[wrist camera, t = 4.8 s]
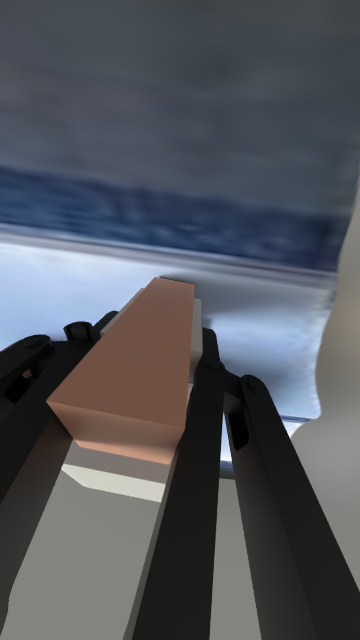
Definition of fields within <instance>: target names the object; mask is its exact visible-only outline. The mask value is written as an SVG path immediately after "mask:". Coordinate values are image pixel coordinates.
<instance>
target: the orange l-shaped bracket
mask: <svg viewBox="0 0 360 640" xmlns="http://www.w3.org/2000/svg"><path fill="white" fill-rule="evenodd" d="M194 292H195V285H194V284H189V283H184V282H179V281H174V280H168V279H163V278H158V277H155V278H154V279H153V280H152V281H151V282H150V283H149V284H148V286H147V287H146V288H145V289H144V290H143V291H142V292H141V293H140V295H139V296H138V297H137V298H136V299H135V300H134V301H133V303H132V304H131V305H130V306H129V307H128V308H127V309H126V310H125V312H124V313H123V314H122V315H121V316H120V317H119V318H118V320H117V321H116V322H115V323H114V324H113V325H112V326H111V327H110V329H109V330H108V331H107V332H106V333H105V334H104V335H103V337H102V338H101V339H100V340H99V341H98V342H97V343H96V344H95V346H94V347H93V348H92V349H91V350H90V351H89V352H88V354H87V355H86V356H85V357H84V358H83V359H82V360H81V361H80V363H79V364H78V365H77V366H76V367H75V368H74V369H73V371H72V372H71V373H70V374H69V375H68V376H67V377H66V378H65V380H64V381H63V382H62V383H61V384H60V385H59V386H58V388H57V389H56V390H55V391H54V392H53V393H52V394H51V395H50V397H49V398H48V399H47V400H46V402H47V403H48V404H49V406H50V407H51V409H52V410H53V411H54V413H55V414H56V415H57V417H58V418H59V420H60V421H61V422H62V424H63V425H64V426H65V428H66V429H67V430H68V432H69V433H70V435H71V436H72V437H73V439H74V440H75V441H76V443H77V444H78V445H79V447H83V448H88V449H93V450H98V451H103V452H108V453H113V454H118V455H123V456H128V457H133V458H138V459H143V460H148V461H153V462H158V463H163V464H168V465H169V464H170V461H171V459H172V457H173V455H174V452H175V450H176V448H177V446H178V443H179V441H180V439H181V436H182V434H183V432H184V430H185V421H186V406H187V392H188V378H189V364H190V349H191V335H192V321H193V306H194Z"/></svg>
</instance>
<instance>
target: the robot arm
mask: <svg viewBox="0 0 360 640" xmlns="http://www.w3.org/2000/svg"><path fill="white" fill-rule="evenodd" d="M143 290H144V288H141V289H140V290H139V291H138V292H137V293H136V295H135V296H134V297H133V298H132V299H131V300H130V301H129V302H128V303H127V304H126V305H125V306H124V307H123V308H122V309H121V310H120V311H119V312H118V311H111V312H109V313H107V314H106V315H105V316H104V317H103V318H102V319H101V320H99V322H97V323H96V324H95V325H94V326H92V324H90V323H89V322H84V321H81V322H74V323H71V324H68V325H67V326H65V327H64V328H63V329H64V332H65V334H66V337H67V340H68V341H55V342H51V339H50V337H49V336H47V335H41V334H39V335H33V336H29V337H26V338H24V339H22V340H20V341H19V342H17V343H15V344H14V345H12V346H10V347H9V348H7V349H5V350H4V351H2V352H0V635H1V632H2V629H3V627H4V623H5V619H6V616H7V612H8V602H9V596H10V592H11V589H12V586H13V584H14V581H15V578H16V576H17V574H18V571H19V569H20V566H21V564H22V561H23V559H24V557H25V554H26V552H27V550H28V547H29V545H30V542H31V540H32V538H33V535H34V533H35V530H36V528H37V525H38V523H39V521H40V518H41V516H42V513H43V511H44V509H45V506H46V504H47V501H48V499H49V497H50V494H51V492H52V489H53V487H54V485H55V482H56V480H57V478H58V475H59V473H60V470H61V468H62V465H63V463H64V461H65V458H66V456H67V453H68V451H69V449H70V446H71V444H72V441H73V437H72V436H71V435H70V433H69V432H68V430H67V429H66V428H65V426H64V425H63V424H62V422H61V421H60V420H59V418H58V417H57V415H56V414H55V413H54V411H53V410H52V409H51V407H50V406H49V404H48V403H47V402H46V400H47V399H48V398H49V397H50V395H51V394H52V393H53V392H54V391H55V390H56V389H57V388H58V386H59V385H60V384H61V383H62V382H63V381H64V380H65V378H66V377H67V376H68V375H69V374H70V373H71V372H72V371H73V369H74V368H75V367H76V366H77V365H78V364H79V363H80V361H81V360H82V359H83V358H84V357H85V356H86V355H87V354H88V352H89V351H90V350H91V349H92V348H93V347H94V346H95V344H96V343H97V342H98V341H99V340H100V339H101V338H102V337H103V335H104V334H105V333H106V332H107V331H108V330H109V329H110V327H111V326H112V325H113V324H114V323H115V322H116V321H117V320H118V318H119V317H120V316H121V315H122V314H123V313H124V312H125V310H126V309H127V308H128V307H129V306H130V305H131V304H132V303H133V301H134V300H135V299H136V298H137V297H138V296H139V295H140V293H141V292H142V291H143ZM27 370H29V372H30V374H29V375H27V376H25V377H23V375H22V374H23V373H24V372H26V371H27ZM193 378H194V381H193ZM192 381H193V387H192V390H191V392H190V395H189V396H190V397H189V401H188V405H187V408H186V421H185V430H184V432H183V434H182V436H181V439H180V441H179V443H178V446H177V448H176V450H175V452H174V456H173V460H172V463H171V467H170V471H169V474H168V478H167V482H166V485H165V489H164V493H163V496H162V500H161V504H160V508H159V511H158V515H157V519H156V522H155V526H154V530H153V533H152V537H151V541H150V544H149V548H148V552H147V555H146V559H145V563H144V566H143V570H142V574H141V577H140V581H139V585H138V588H137V592H136V596H135V600H134V603H133V607H132V611H131V614H130V618H129V621H128V625H127V628H126V631H125V634H124V637H123V640H209V637H210V619H211V604H212V586H213V570H214V553H215V538H216V521H217V505H218V488H219V471H220V455H221V438H222V422H223V411H224V415H225V421H226V427H227V433H228V439H229V446H230V452H231V458H232V464H233V470H234V476H235V482H236V488H237V493H238V499H239V506H240V511H241V518H242V523H243V530H244V536H245V542H246V548H247V554H248V560H249V566H250V572H251V578H252V584H253V590H254V596H255V602H256V608H257V614H258V620H259V626H260V632H261V638H262V640H360V592H359V589H358V587H357V585H356V583H355V580H354V578H353V576H352V574H351V572H350V570H349V567H348V565H347V563H346V561H345V559H344V557H343V554H342V552H341V550H340V548H339V546H338V543H337V541H336V539H335V537H334V535H333V532H332V530H331V528H330V526H329V523H328V521H327V519H326V517H325V515H324V512H323V510H322V508H321V506H320V504H319V502H318V499H317V497H316V495H315V493H314V490H313V488H312V486H311V484H310V482H309V479H308V477H307V475H306V473H305V471H304V468H303V466H302V464H301V462H300V460H299V458H298V455H297V453H296V451H295V449H294V447H293V445H292V443H291V440H290V438H289V436H288V433H287V431H286V429H285V427H284V425H283V422H282V420H281V418H280V416H279V414H278V411H277V409H276V407H275V405H274V403H273V400H272V398H271V396H270V394H269V392H268V389H267V388H266V386H265V384H264V383H263V382H262V381H261V380H260V379H258V378H257V377H255V376H252V375H244V376H242V377H241V378H240V377H238V376H236V375H234V374H232V373H230V372H229V371H227V370H226V369H225V367H224V365H223V363H222V362H220V357H219V351H218V345H217V338H216V334H215V332H214V331H213V330H212V329H207V328H202V311H201V300H200V299H195V298H194V306H193V321H192V335H191V349H190V364H189V378H188V382H192Z"/></svg>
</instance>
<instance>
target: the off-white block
mask: <svg viewBox="0 0 360 640" xmlns="http://www.w3.org/2000/svg"><path fill="white" fill-rule="evenodd" d="M193 381H194V378H193ZM193 381H192V382H188V392H187V405H188V401H189V397H190V396H189V395H190V392H191V390H192V387H193ZM186 408H187V406H186ZM173 456H174V455H173ZM172 460H173V457H172V459H171V461H170V464H169V465H168V464H163V463H158V462H153V461H148V460H143V459H138V458H133V457H128V456H123V455H118V454H113V453H108V452H103V451H98V450H93V449H88V448H83V447H79V445H78V444H77V443H76V441H75V440H74V439H73V441H72V444H71V446H70V449H69V451H68V453H67V456H66V458H65V461H64V463H63V465H62V468H61V469H62V470H63V471H64V472H66V473H67V474H68V475H69V476H71V477H72V478H74V479H75V480H76V481H77V482H79V483H80V484H81V485H83V486H84V487H88V488H93V489H98V490H103V491H108V492H113V493H118V494H123V495H128V496H132V497H137V498H142V499H147V500H152V501H157V502H161V500H162V496H163V493H164V489H165V485H166V482H167V478H168V474H169V471H170V467H171V463H172Z"/></svg>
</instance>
